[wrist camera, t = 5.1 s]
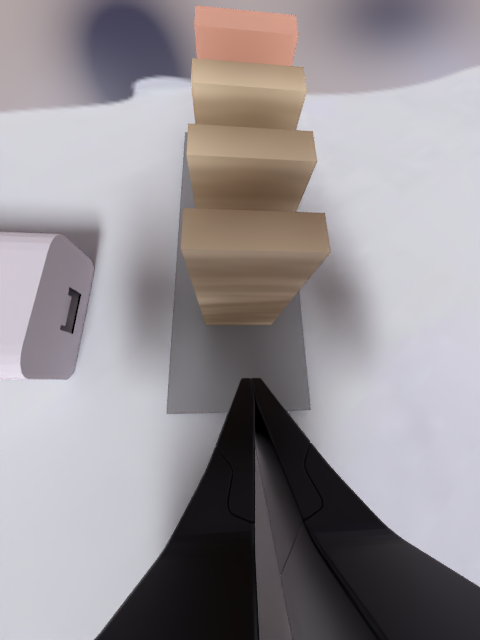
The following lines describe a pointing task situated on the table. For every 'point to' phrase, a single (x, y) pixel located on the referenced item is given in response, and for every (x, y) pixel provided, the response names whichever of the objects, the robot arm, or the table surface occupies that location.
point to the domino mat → (229, 347)
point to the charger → (41, 304)
